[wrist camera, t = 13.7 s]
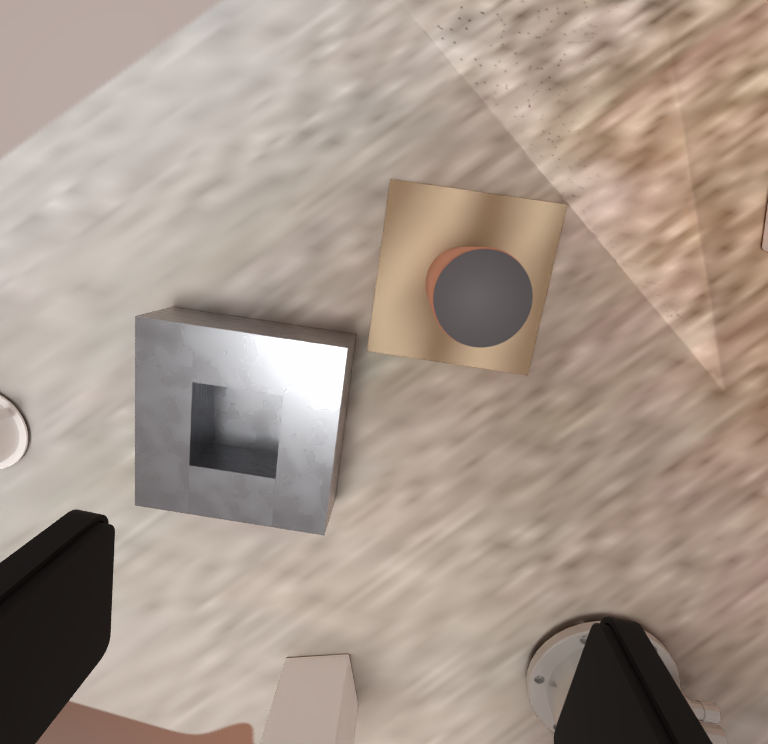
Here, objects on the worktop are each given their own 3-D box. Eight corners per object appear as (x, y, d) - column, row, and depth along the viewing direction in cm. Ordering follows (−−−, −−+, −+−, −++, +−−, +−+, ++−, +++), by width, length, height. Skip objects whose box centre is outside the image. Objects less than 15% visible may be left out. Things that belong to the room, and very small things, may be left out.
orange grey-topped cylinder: (503, 252, 33) (545, 255, 22) (488, 323, 34) (521, 356, 24) (432, 241, 33) (441, 239, 22) (420, 312, 34) (423, 341, 24)
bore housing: (356, 334, 35) (347, 348, 30) (335, 499, 39) (324, 535, 34) (172, 306, 36) (135, 316, 31) (168, 473, 39) (135, 505, 34)
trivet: (564, 205, 32) (567, 204, 32) (525, 373, 35) (527, 375, 35) (390, 180, 32) (390, 179, 32) (367, 349, 36) (367, 350, 35)
